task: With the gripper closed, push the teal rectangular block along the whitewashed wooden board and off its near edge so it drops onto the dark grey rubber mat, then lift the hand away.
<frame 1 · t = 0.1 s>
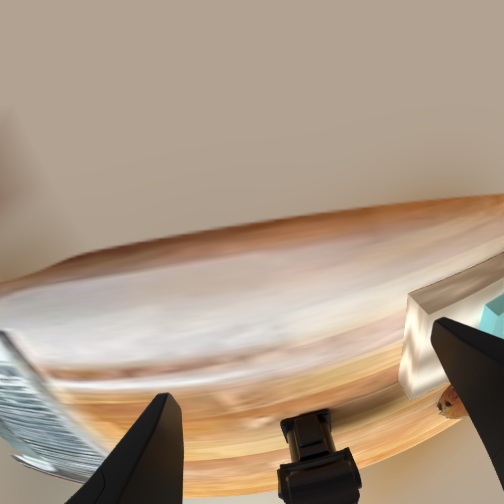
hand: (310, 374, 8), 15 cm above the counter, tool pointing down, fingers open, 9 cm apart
brown rounded dome: (456, 388, 35), on the counter
board: (458, 317, 27), on the counter
teal rectangular block: (491, 325, 24), point 4 cm above the counter, touching board
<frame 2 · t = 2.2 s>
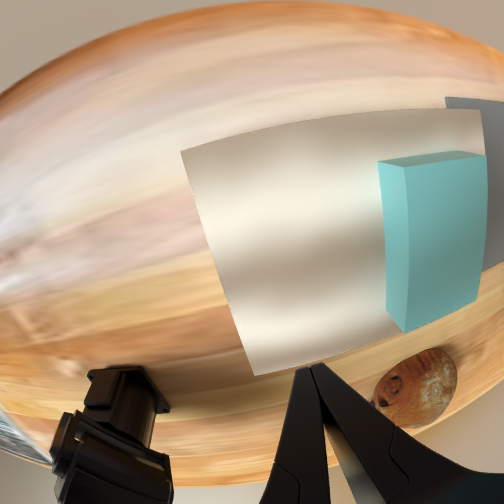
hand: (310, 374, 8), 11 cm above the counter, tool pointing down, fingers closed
mat: (501, 186, 17), on the counter
brown rounded dome: (406, 379, 26), on the counter
board: (356, 222, 18), on the counter
teal rectangular block: (426, 231, 14), point 4 cm above the counter, touching board
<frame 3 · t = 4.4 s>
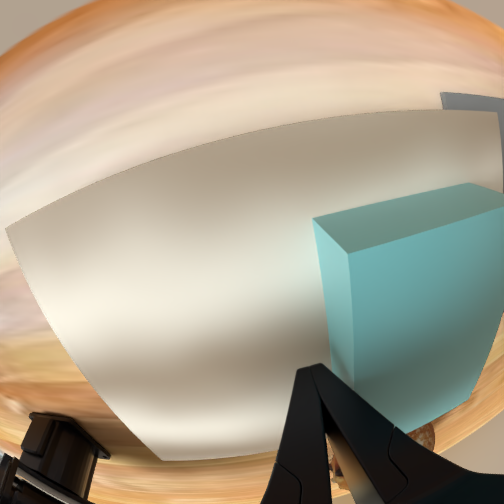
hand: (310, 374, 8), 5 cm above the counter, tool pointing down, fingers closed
brown rounded dome: (375, 440, 20), on the counter
board: (290, 291, 13), on the counter
teal rectangular block: (404, 317, 9), point 4 cm above the counter, touching board, gripper
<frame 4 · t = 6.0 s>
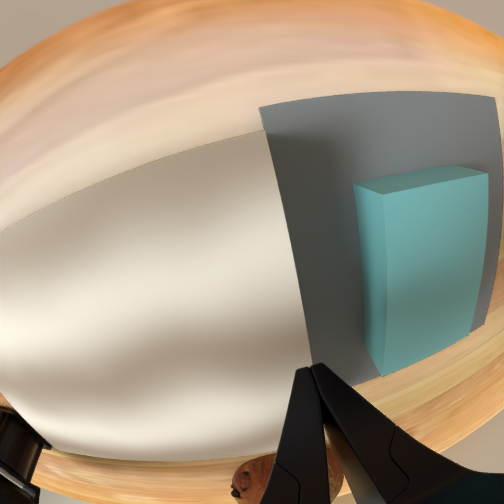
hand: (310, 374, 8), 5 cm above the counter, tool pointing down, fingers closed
mat: (424, 251, 13), on the counter
brown rounded dome: (283, 466, 21), on the counter
board: (115, 330, 13), on the counter
teal rectangular block: (442, 284, 10), point 3 cm above the counter, tilted 180°, touching mat
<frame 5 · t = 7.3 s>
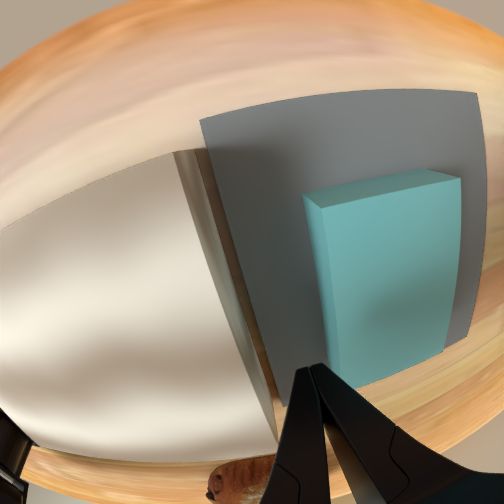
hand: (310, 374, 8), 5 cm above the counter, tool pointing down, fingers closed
mat: (392, 262, 12), on the counter
brown rounded dome: (259, 471, 21), on the counter
board: (83, 336, 13), on the counter
teal rectangular block: (404, 301, 10), point 3 cm above the counter, tilted 180°, touching mat
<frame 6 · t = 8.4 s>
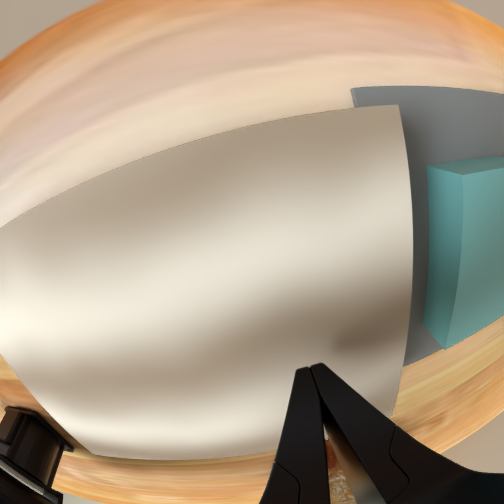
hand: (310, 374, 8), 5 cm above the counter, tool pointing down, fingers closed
mat: (474, 233, 12), on the counter
brown rounded dome: (321, 457, 20), on the counter
board: (180, 315, 13), on the counter
teal rectangular block: (496, 259, 10), point 3 cm above the counter, tilted 180°, touching mat
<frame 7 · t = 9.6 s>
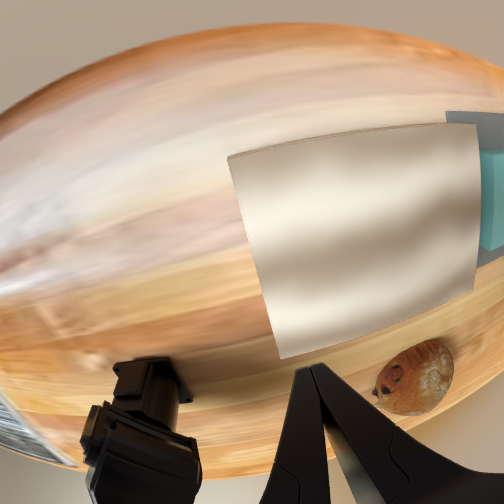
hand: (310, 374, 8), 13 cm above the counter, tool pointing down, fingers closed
mat: (495, 190, 20), on the counter
brown rounded dome: (406, 370, 28), on the counter
board: (368, 222, 20), on the counter
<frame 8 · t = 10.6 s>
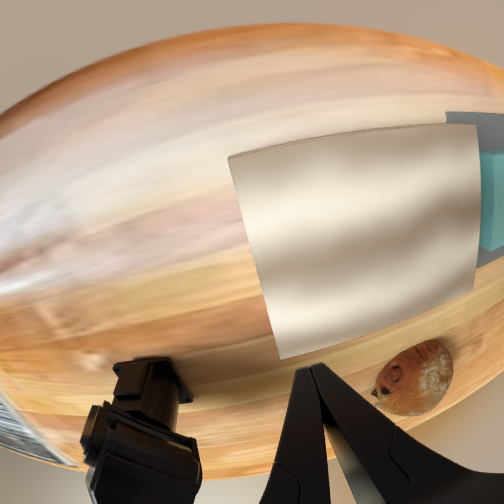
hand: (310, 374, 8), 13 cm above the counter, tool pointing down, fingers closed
mat: (495, 190, 20), on the counter
brown rounded dome: (405, 370, 28), on the counter
board: (368, 223, 20), on the counter
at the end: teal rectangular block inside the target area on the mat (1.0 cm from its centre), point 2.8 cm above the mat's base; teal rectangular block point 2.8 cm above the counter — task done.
